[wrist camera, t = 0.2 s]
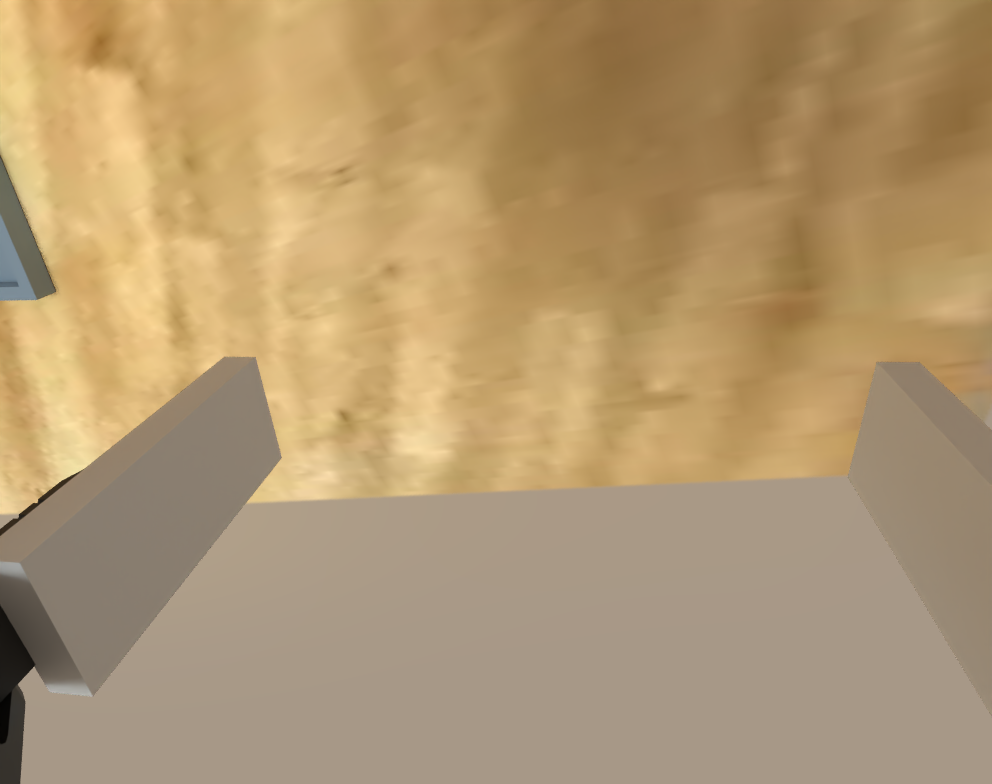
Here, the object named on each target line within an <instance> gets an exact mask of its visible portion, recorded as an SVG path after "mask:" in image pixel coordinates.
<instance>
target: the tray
mask: <svg viewBox="0 0 992 784" xmlns="http://www.w3.org/2000/svg"><path fill="white" fill-rule="evenodd" d="M54 292H56V291H55V288H54V286H53V283H52V281H51V279H50V276H49V274H48V271H47V269H46V266H45V264H44V262H43V259H42V257H41V254H40V252H39V249H38V247H37V245H36V242H35V240H34V237H33V235H32V232H31V230H30V228H29V225H28V223H27V220H26V218H25V215H24V213H23V210H22V208H21V206H20V203H19V201H18V198H17V196H16V193H15V191H14V189H13V186H12V184H11V181H10V179H9V176H8V174H7V172H6V169H5V167H4V164H3V162H2V159H1V157H0V300H38V299H40V298H43V297H45V296H47V295H50V294H52V293H54Z"/></svg>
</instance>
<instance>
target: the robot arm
mask: <svg viewBox="0 0 992 784" xmlns="http://www.w3.org/2000/svg"><path fill="white" fill-rule="evenodd" d="M281 458H282V457H281V453H280V449H279V445H278V442H277V438H276V434H275V430H274V426H273V422H272V419H271V415H270V411H269V407H268V403H267V399H266V396H265V392H264V388H263V384H262V380H261V376H260V373H259V369H258V365H257V361H256V357H224V358H222V359H221V360H220V361H219V362H217V363H216V364H215V365H214V366H212V367H211V368H210V369H209V370H207V371H206V372H205V373H204V374H202V375H201V376H200V377H199V378H197V379H196V380H195V381H194V382H192V383H191V384H190V385H189V386H187V387H186V388H185V389H184V390H182V391H181V392H180V393H179V394H177V395H176V396H175V397H174V398H172V399H171V400H170V401H169V402H167V403H166V404H165V405H164V406H162V407H161V408H160V409H159V410H157V411H156V412H155V413H154V414H152V415H151V416H150V417H149V418H147V419H146V420H145V421H144V422H142V423H141V424H140V425H139V426H137V427H136V428H135V429H134V430H132V431H131V432H130V433H129V434H127V435H126V436H125V437H124V438H122V439H121V440H120V441H119V442H117V443H116V444H115V445H114V446H112V447H111V448H110V449H109V450H107V451H106V452H105V453H104V454H102V455H101V456H100V457H99V458H97V459H96V460H95V461H94V462H92V463H91V464H90V465H89V466H87V467H86V468H85V469H83V470H81V471H80V472H78V473H76V474H74V475H72V476H70V477H68V478H66V479H64V480H62V481H61V482H59V483H58V484H57V485H56V486H54V487H53V488H52V489H51V490H49V491H48V492H47V493H45V494H44V495H43V496H42V497H40V498H39V499H38V503H33V504H32V505H30V506H29V507H28V508H26V509H25V510H24V511H23V512H21V513H20V514H19V518H18V519H13V520H11V521H10V522H9V523H7V524H6V525H5V526H4V527H2V528H1V529H0V784H20V777H21V762H22V746H23V731H24V714H25V699H24V696H23V692H22V691H21V689H20V688H19V686H18V683H19V682H20V681H21V680H22V679H23V678H24V677H25V676H26V675H27V674H28V673H29V671H30V670H31V669H32V668H33V667H35V668H36V670H37V672H38V673H39V675H40V676H41V678H42V680H43V682H44V683H45V685H46V687H47V688H48V690H49V691H50V692H53V693H63V694H73V695H83V696H94V695H95V693H96V692H97V691H98V690H99V688H100V687H101V686H102V685H103V683H104V682H105V681H106V679H107V678H108V677H109V676H110V674H111V673H112V672H113V671H114V669H115V668H116V667H117V666H118V664H119V663H120V662H121V660H122V659H123V658H124V657H125V655H126V654H127V653H128V652H129V650H130V649H131V648H132V646H133V645H134V644H135V642H136V641H137V640H138V639H139V638H140V636H141V635H142V634H143V633H144V631H145V630H146V629H147V628H148V626H149V625H150V624H151V622H152V621H153V620H154V619H155V617H156V616H157V615H158V613H159V612H160V611H161V610H162V609H163V607H164V606H165V605H166V603H167V602H168V601H169V600H170V598H171V597H172V596H173V595H174V593H175V592H176V591H177V589H178V588H179V587H180V586H181V584H182V583H183V582H184V581H185V579H186V578H187V577H188V576H189V574H190V573H191V572H192V571H193V569H194V568H195V566H197V564H198V563H199V561H200V560H201V559H202V558H203V557H204V555H205V554H206V553H207V551H208V550H209V549H210V548H211V546H212V545H213V544H214V543H215V541H216V540H217V539H218V538H219V536H220V535H221V534H222V533H223V531H224V530H225V529H226V528H227V526H228V525H229V524H230V523H231V521H232V520H233V518H234V517H235V516H236V515H237V514H238V512H239V511H240V510H241V509H242V507H243V506H244V505H245V504H246V502H247V501H248V500H249V498H250V497H251V496H252V495H253V493H254V492H255V491H256V490H257V488H258V487H259V486H260V485H261V483H262V482H263V481H264V479H265V478H266V477H267V476H268V474H269V473H270V472H271V471H272V469H273V468H274V467H275V466H276V464H277V463H278V462H279V461H280V459H281ZM848 478H849V480H850V482H851V483H852V485H853V487H854V488H855V490H856V491H857V493H858V495H859V496H860V498H861V500H862V502H863V503H864V505H865V507H866V508H867V510H868V512H869V513H870V515H871V516H872V518H873V520H874V521H875V523H876V525H877V526H878V528H879V530H880V532H881V533H882V535H883V536H884V538H885V540H886V541H887V543H888V545H889V546H890V548H891V550H892V551H893V553H894V555H895V556H896V558H897V560H898V561H899V563H900V565H901V566H902V568H903V570H904V571H905V573H906V575H907V576H908V578H909V580H910V581H911V583H912V585H913V586H914V588H915V590H916V591H917V593H918V595H919V596H920V598H921V600H922V601H923V603H924V605H925V606H926V608H927V610H928V611H929V613H930V615H931V616H932V618H933V619H934V621H935V623H936V625H937V626H938V628H939V630H940V631H941V633H942V635H943V636H944V638H945V640H946V641H947V643H948V645H949V646H950V648H951V650H952V651H953V653H954V655H955V656H956V658H957V660H958V661H959V663H960V665H961V666H962V668H963V670H964V671H965V673H966V674H967V676H968V678H969V680H970V681H971V683H972V685H973V686H974V688H975V689H976V691H977V693H978V694H979V696H980V698H981V699H982V701H983V703H984V704H985V706H986V708H987V709H988V711H989V713H990V714H991V716H992V430H991V429H990V428H989V427H988V426H987V425H986V424H985V423H984V422H982V421H981V420H980V419H979V418H978V417H977V416H976V415H975V414H974V413H973V412H972V411H971V410H970V409H969V408H968V407H966V406H965V405H964V404H963V403H962V402H961V401H960V400H959V399H958V398H957V397H956V396H955V395H954V394H953V393H952V392H950V391H949V390H948V389H947V388H946V387H945V386H944V385H943V384H942V383H941V382H940V381H939V380H938V379H937V378H936V377H935V376H933V375H932V374H931V373H930V372H929V371H928V370H927V369H926V368H925V367H924V366H923V365H922V364H921V363H920V362H877V363H876V367H875V371H874V375H873V379H872V383H871V387H870V391H869V395H868V399H867V403H866V407H865V411H864V415H863V419H862V423H861V427H860V431H859V434H858V438H857V442H856V446H855V450H854V454H853V458H852V462H851V466H850V470H849V474H848Z"/></svg>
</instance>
